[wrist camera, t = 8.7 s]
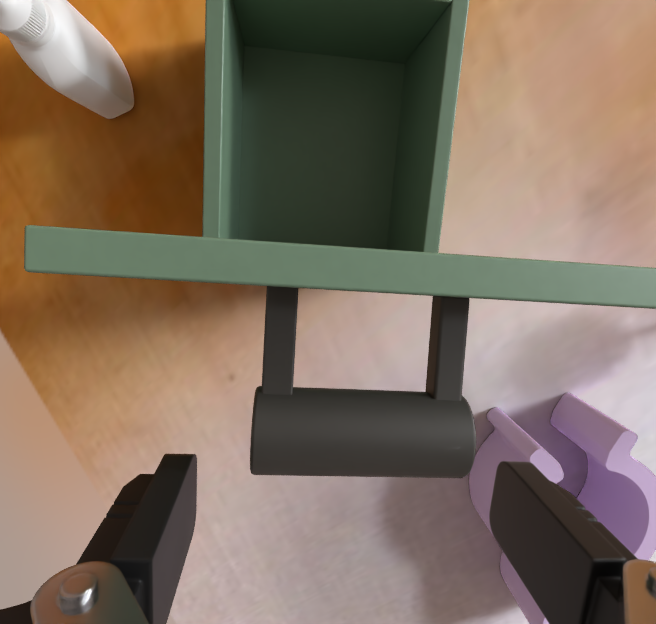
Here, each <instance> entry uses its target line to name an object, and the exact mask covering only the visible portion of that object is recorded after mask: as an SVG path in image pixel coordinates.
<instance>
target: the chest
mask: <svg viewBox="0 0 656 624" xmlns="http://www.w3.org/2000/svg"><path fill="white" fill-rule="evenodd" d="M468 7H469V0H206V22H205V93H204V164H203V235H202V237H211V238H225V239H240V240H254V241H269V242H284V243H298V244H313V245H327V246H342V247H357V248H371V249H386V250H400V251H415V252H430V253H438V250H439V242H440V234H441V226H442V218H443V210H444V201H445V193H446V185H447V177H448V169H449V161H450V153H451V145H452V137H453V128H454V120H455V112H456V104H457V96H458V88H459V80H460V72H461V64H462V55H463V47H464V39H465V31H466V23H467V15H468Z"/></svg>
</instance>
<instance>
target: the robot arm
mask: <svg viewBox="0 0 656 624" xmlns="http://www.w3.org/2000/svg"><path fill="white" fill-rule="evenodd" d="M196 496H197V458H196V455H195V454H165V455H164V456H163V458H162V460H161V462H160V464H159V466H158V468H157V470H156V472H155V474H140V475H138V476H137V477H136V478H134V479H133V480H132V481H130V482H129V483H128V484H126V485H125V486H124V487H123V488H122V490H121V492H120V493H119V495H118V497H117V498H116V500H115V502H114V505H112V506H111V508H110V510H109V511H108V513H107V516H106V518H104V520H103V522H102V523H101V524H100V526H99V528H98V529H97V531H96V533H95V534H94V536H93V538H92V539H91V541H90V543H89V544H88V546H87V548H86V549H85V551H84V552H83V554H82V556H81V557H80V559H79V561H78V562H77V564H76V565H74V566H71V567H68V568H66V569H64V570H62V571H60V572H59V573H57V574H55V575H54V576H52V577H51V578H50V579H49V580H47V581H46V582H45V583H44V584H43V585H42V586H41V587H40V588H39V590H38V591H37V592H36V594H35V596H34V597H33V600H31V601H29V602H26V603H23V604H20V605H17V606H13V607H10V608H6V609H1V610H0V624H166V623H167V619H168V616H169V613H170V609H171V606H172V603H173V599H174V596H175V593H176V589H177V586H178V583H179V579H180V576H181V573H182V570H183V566H184V563H185V560H186V556H187V553H188V550H189V546H190V543H191V540H192V536H193V532H194V526H195V519H196ZM489 520H490V527H491V531H492V533H493V536H494V538H495V540H496V541H497V543H498V544H499V546H500V547H501V549H502V551H503V552H504V554H505V555H506V557H507V558H508V560H509V561H510V563H511V565H512V566H513V568H514V569H515V571H516V572H517V574H518V576H519V577H520V579H521V580H522V582H523V583H524V585H525V587H526V588H527V590H528V591H529V593H530V594H531V596H532V597H533V599H534V601H535V602H536V604H537V605H538V607H539V608H540V610H541V612H542V613H543V615H544V616H545V618H546V619H547V621H548V623H549V624H656V562H652V561H648V560H642V559H637V558H636V557H635V556H634V555H633V554H632V553H631V552H630V551H629V550H628V549H627V548H626V547H625V546H624V545H623V544H622V543H621V542H620V541H619V540H618V539H617V538H616V537H615V536H614V535H613V534H612V533H611V532H610V531H609V530H608V529H607V528H606V527H605V526H604V525H603V524H602V523H601V522H598V521H597V518H596V517H595V516H594V515H593V514H592V513H591V512H590V511H589V510H586V509H585V506H584V505H582V504H581V503H580V502H579V501H578V500H577V499H576V498H575V497H574V496H573V495H572V494H571V493H570V492H568V491H567V490H565V489H563V488H562V487H560V486H558V485H557V484H555V483H554V482H552V481H549V480H548V479H547V478H546V477H545V476H544V475H543V474H542V473H541V472H540V471H539V470H538V469H537V467H536V466H535V465H534V464H532V463H531V462H517V461H502V462H500V463H499V465H498V467H497V470H496V476H495V482H494V488H493V494H492V500H491V506H490V512H489Z"/></svg>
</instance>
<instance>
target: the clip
mask: <svg viewBox="0 0 656 624" xmlns="http://www.w3.org/2000/svg"><path fill="white" fill-rule="evenodd" d="M487 419H488V420H489V421H490V422H491V423H492V424H493V425H494V427H495V429H494V431H493V433H492V434H491V435H490V436H489V437H488V438H487V439H486V440H485V441H484V443H483V444H482V445H481V447H480V448H479V450H478V452H477V454H476V456H475V459H474V463H473V466H472V469H471V470H470V476H469V490H470V496H471V499H472V502H473V505H474V507H475V509H476V510H477V512H478V514H479V515H480V517H481V518H482V520H483V521H484V523H485V525H486V526H487V528H488V529H489V531H490V532H491V534H492V535H493V533H492V531H491V527H490V520H489V512H490V506H491V500H492V494H493V488H494V482H495V476H496V470H497V467H498V465H499V463H500V462H502V461H517V462H531V463H532V464H534V465H535V466H536V467H537V469H538V470H539V471H540V472H541V473H542V474H543V475H544V476H545V477H546V478H547V479H548V480H549V481H552V482H554V483H555V484H557V483H558V482H560V481H561V480H562V479H563V477H564V473H563V470H562V468H561V466H560V463H559V462H558V461H557V460H556V459H555V458H554V457H552V456H551V455H550V454H549V453H548V452H547V451H546V450H545V449H544V448H543V447H542V446H540V445H539V444H538V443H537V442H536V441H535V440H534V439H533V438H532V437H531V436H529V435H528V434H527V433H526V432H525V431H524V430H523V429H522V428H521V427H520V426H518V425H517V424H516V423H515V422H514V421H513V420H512V419H511V418H510V417H508V416H507V415H506V414H505V413H504V412H503V411H502V410H501V409H500V408H498V407H495V408H492V409H491V410H490V411H489V412H488V414H487ZM550 423H551V425H552V426H554V427H555V428H556V429H557V430H559V431H560V432H561V433H562V434H564V435H565V436H566V437H567V438H569V439H570V440H571V441H573V442H574V443H575V444H576V445H578V446H579V447H580V448H581V449H583V450H584V451H585V452H586V455H587V460H588V473H587V478H586V481H585V484H584V486H583V489H582V490H581V492H580V494H579V495H578V497H577V498H576V499H577V500H578V501H579V502H580V503H581V504H582V505H584V506H585V509H586V510H589V511H590V512H591V513H592V514H593V515H594V516H595V517H596V518H597V521H598V522H601V523H602V524H603V525H604V526H605V527H606V528H607V529H608V530H609V531H610V532H611V533H612V534H613V535H614V536H615V537H616V538H617V539H618V540H619V541H620V542H621V543H622V544H623V545H624V546H625V547H626V548H627V549H628V550H629V551H630V552H631V553H632V554H633V555H634V556H635V557H636V558H637V559H642V560H649V559H650V557H651V556H652V555H653V553H654V551H655V550H656V476H655V475H654V474H653V473H652V472H651V471H650V470H649V469H648V468H647V467H646V466H645V465H643V464H642V463H641V462H639V461H638V460H636V459H635V458H633V457H632V456H630V451H631V449H632V448H633V446H634V445H635V443H636V442H637V439H638V437H637V434H636V433H634V432H633V431H631V430H629V429H628V428H626V427H625V426H623V425H621V424H620V423H618V422H617V421H615V420H613V419H612V418H610V417H608V416H607V415H605V414H604V413H602V412H600V411H599V410H597V409H596V408H594V407H592V406H591V405H589V404H588V403H586V402H584V401H583V400H581V399H580V398H578V397H576V396H575V395H573V394H571V393H565V394H564V395H563V396H562V397H561V399H560V401H559V402H558V404H557V405H556V407H555V408H554V410H553V412H552V416H551V420H550ZM493 537H494V536H493ZM494 539H495V538H494ZM496 542H497V541H496ZM498 545H499V544H498ZM500 548H501V547H500ZM500 571H501V575H502V578H503V580H504V581H505V583H506V585H507V586H508V588H509V590H510V592H511V593H512V595H513V597H514V598H515V600H516V602H517V603H518V605H519V607H520V608H521V610H522V612H523V613H524V615H525V617H526V619H527V620H528V622H529V624H549V623H548V621H547V619H546V618H545V616H544V615H543V613H542V612H541V610H540V608H539V607H538V605H537V604H536V602H535V601H534V599H533V597H532V596H531V594H530V593H529V591H528V590H527V588H526V587H525V585H524V583H523V582H522V580H521V579H520V577H519V576H518V574H517V572H516V571H515V569H514V568H513V566H512V565H511V563H510V561H509V560H508V558H507V557H506V555H505V554H504V552H502V555H501V559H500Z"/></svg>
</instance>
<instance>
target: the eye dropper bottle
mask: <svg viewBox="0 0 656 624" xmlns="http://www.w3.org/2000/svg"><path fill="white" fill-rule="evenodd" d="M0 32H1V33H3V34H4V35H6V36H8V37H9V39H10V41H11V43H12V44H13V46H14V48H15V49H16V51H17V52H18V54H19V55H20V56H21V58H22V59H23V60H24V62H25V63H26V64H27V65H28V66H29V67H30V68H31V70H32V71H33V72H34V73H35V74H36V75H37V76H39V77H40V78H41V79H42V80H43V81H44V82H45V83H46V84H48V85H49V86H50V87H52V88H53V89H54V90H56V91H57V92H59V93H61V94H63V95H64V96H66V97H68V98H70V99H71V100H73V101H75V102H77V103H79V104H80V105H82V106H84V107H86V108H88V109H90V110H92V111H93V112H95V113H97V114H99V115H101V116H103V117H105V118H107V119H112V118H115V117H117V116H120V115H122V114H124V113H126V112H128V111H130V110H131V109H132V108H133V106H134V94H133V88H132V84H131V80H130V77H129V75H128V72H127V70H126V67H125V65H124V63H123V62H122V60H121V58H120V56H119V55H118V53H117V52H116V50H115V49H114V48H113V46H112V45H111V44H110V43H109V42H108V40H107V39H106V38H105V37H104V36H103V35H102V34H101V33H100V32H99V31H98V30H97V29H96V28H95V27H94V26H93V25H92V24H91V23H90V22H89V21H88V20H86V19H85V18H84V17H83V16H82V15H81V14H80V13H79V12H78V11H77V10H76V9H75V8H74V7H73V6H72V5H71V4H70V3H69V2H68V1H67V0H0Z"/></svg>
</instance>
